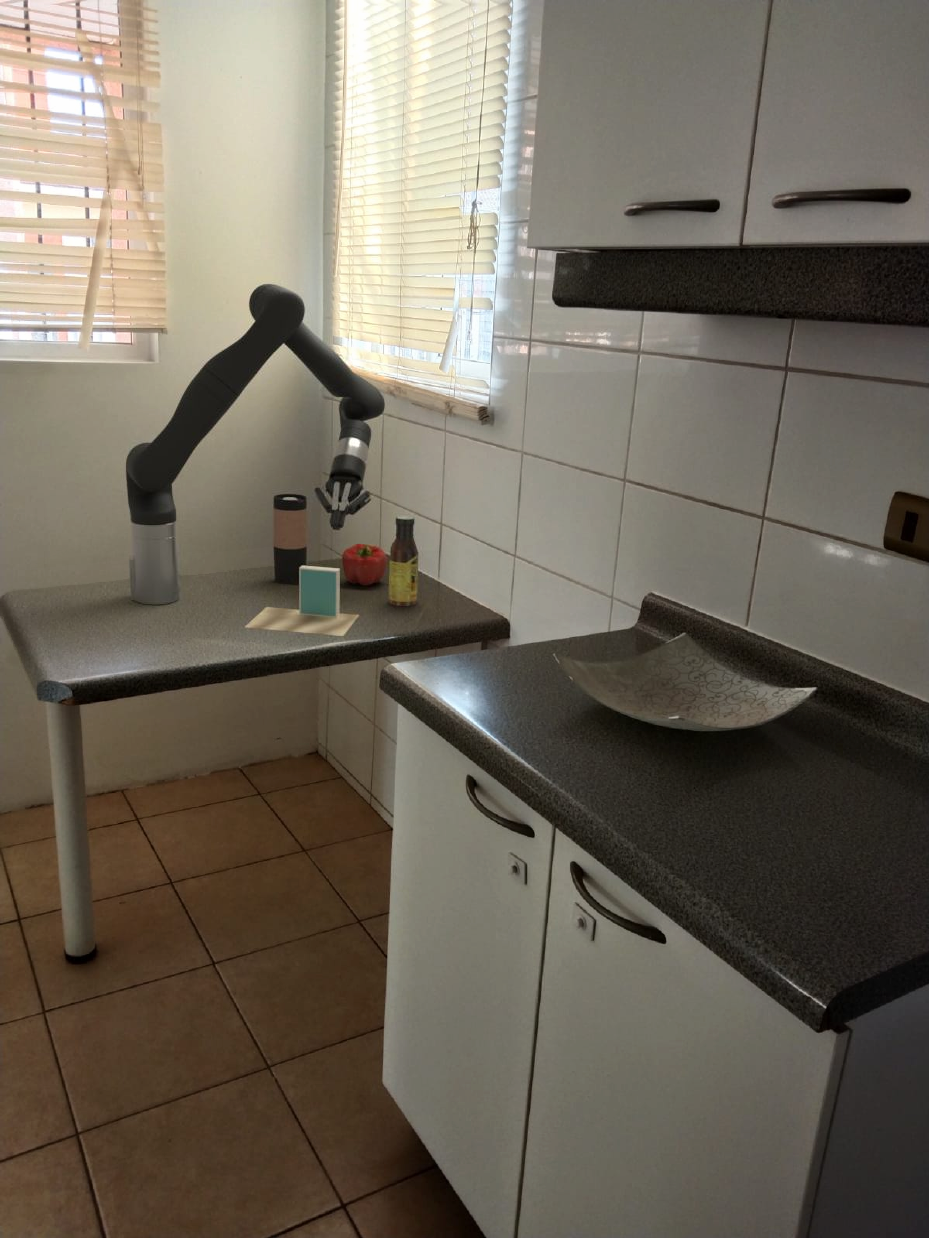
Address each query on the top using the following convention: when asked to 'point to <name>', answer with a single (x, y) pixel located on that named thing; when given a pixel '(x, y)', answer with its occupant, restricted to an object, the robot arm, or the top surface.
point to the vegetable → (364, 564)
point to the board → (301, 622)
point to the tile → (319, 591)
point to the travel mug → (289, 537)
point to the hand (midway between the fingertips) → (335, 528)
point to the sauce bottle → (403, 564)
